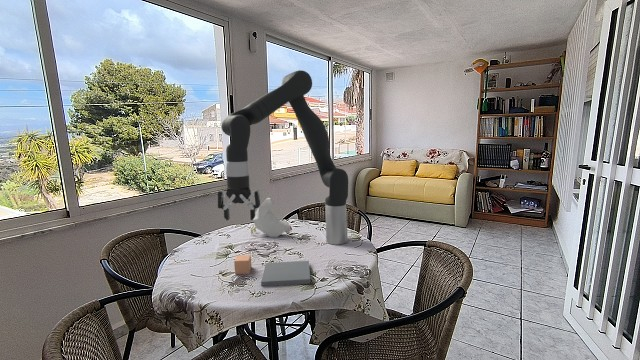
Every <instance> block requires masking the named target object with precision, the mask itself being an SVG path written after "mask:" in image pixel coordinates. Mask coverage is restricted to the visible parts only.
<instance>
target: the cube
mask: <svg viewBox="0 0 640 360" xmlns="http://www.w3.org/2000/svg"><path fill="white" fill-rule="evenodd" d="M233 263H234V274H235V275H243V274H244V275H246V274H250V272H251V270H252V267H253V266H252V255H251V254H238V255H236V257H235V259H234V260H233Z"/></svg>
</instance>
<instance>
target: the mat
mask: <svg viewBox="0 0 640 360" xmlns="http://www.w3.org/2000/svg"><path fill="white" fill-rule="evenodd" d="M260 283H261V284H260V286H261V287H269V286H270V287H271V286H286V285H289V286H290V285H304V284H311V273H310V261H309V260H299V261H298V260H296V261H280V262H278V261H277V262H266V263H265V265H264V269H263V273H262V277H261V281H260Z"/></svg>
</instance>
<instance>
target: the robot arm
mask: <svg viewBox="0 0 640 360" xmlns="http://www.w3.org/2000/svg"><path fill="white" fill-rule="evenodd" d="M312 86H313V80H312V77H311V75H310V73H308V72H307V71H305V70H300V69H299V70H294V71H293V72H291V73H288V74H287V75H285V76H283V77H282V80H281V85H280V86H278V87H277V88H275V89H273V90H272V91H269V92H267V93H266V94H263V95H262V96H260V97H258V98H257V99H254V100H253V101H252V102H249V104H247V105H246V106H245V107H243V108H241V109H239V110H236V111H234V112H232V113H230V114H228V115H227V116H226V117H224V119H223V120H222V122H221V130H222V132H223V133H224V134H225V135H226V136H229V137H230V142H229V144H228V145H226V149H225V150H226V151H225V154H226V166H225V167H226V169H225V174H226V188H227V190H225V191H224V190H222V189H221V190H219V191H218V192H217V208H218V209H222V210H223V218H224V220H225V221H229V220H230V219H231V218H230V208H229V207H230V206H231V205H232V204H233V203H234V204H245V205H246V206H248V208H249V209H250V210H249V213H250V214H249V215H250V218H249V219H250V221H253V219H254V218H255V213H256V210H257V209H258V208H259V206H260V205H261V199H260V198H261V197H260V190H258V189H256V190H251V188H250V167H249V160H248V159H249V157H248V156H249V155H248V146H249V143H250V137H251V126H253V125H256V124H259V123H260V122H262V121H264V120H265V119H266V118H268V117H270V115H271V116H272V114H273V113H275V112H276V111H277V110H279V109H280V108H282V107H283V106H284V105H287V103H289V105H290V107H291V108H292V111H293V113H294V114H295V117H296V118H297V121H298V123H299V125H300V128H301V130H302V133H303V136H304V138H305V140H306V143H307V145H308V147H309V149H310V152H311V154H312V155H313V158H314V160H315V163H316V166H317V169H318V172H319V175H320V179H321V182H322V183H323V184H324V186H326V187H327V188H329V192H328V196H326V198H324V199H325V201H324V203H325V204H324V206H325V207H324V208H325V209H324V210H325V239H326V243H327V244H329V245H344V244H347V243H348V238H349V237H348V221H347V200H348V198H349V176H348V173H347V171H346V170H344V169H343V168H339V167H336V165H335V163H334V161H333V159H332V156H331V152H330V137H329V134H328V131H327V129H326V126H325V124H324V122H323V120H322V119H321V118H320V117H319V115H317V114H316V113H315V112H314V110H312V109H311V108H310V106H309V104H308V103H307V100H306V98H305V95H306V94H308V93H309V92H310V91H311V90H312ZM251 195H252V197H253V198H254V202H253V201H252V199H251V198H250V197H251ZM225 197H227V198H228V200H227V202H226V203H225V204H224V198H225ZM254 203H255V204H254Z"/></svg>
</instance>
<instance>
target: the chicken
mask: <svg viewBox="0 0 640 360" xmlns="http://www.w3.org/2000/svg"><path fill="white" fill-rule="evenodd" d="M274 202H275V200H273V198H272V197H267V198H266V199H265V200H264V201H263V202H262V203H260V206H259V208H256V210H255V218H254V219H253V220H252V221H253V224H254V225H252V226H253V228H251V227H250V233H251V234H250V235H251V236H253V235H255V233H257V230H258V231H260V232H262V233H263V234H265V235H266V236H267V237H269V238H271V237H272V238H277V237H279V236H281V235H282V234H284V233H287V234H289V233H290V232H291V231H293V228H292V226H291V225H290V224H289V222H286V221H283V220H280V219H279V218H278V216H276V215H275V214H274V213H273V212H272V211H271V210H272V208H273V205H274ZM256 229H257V230H256Z"/></svg>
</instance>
